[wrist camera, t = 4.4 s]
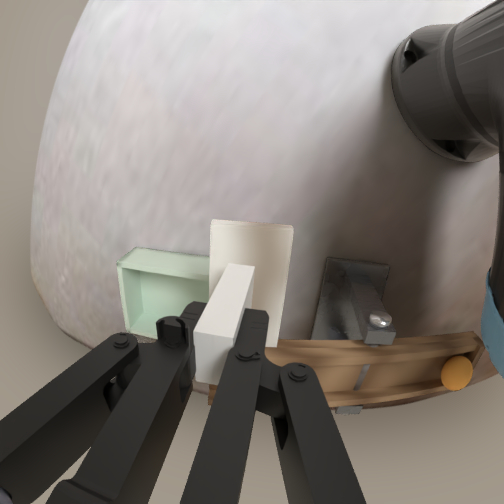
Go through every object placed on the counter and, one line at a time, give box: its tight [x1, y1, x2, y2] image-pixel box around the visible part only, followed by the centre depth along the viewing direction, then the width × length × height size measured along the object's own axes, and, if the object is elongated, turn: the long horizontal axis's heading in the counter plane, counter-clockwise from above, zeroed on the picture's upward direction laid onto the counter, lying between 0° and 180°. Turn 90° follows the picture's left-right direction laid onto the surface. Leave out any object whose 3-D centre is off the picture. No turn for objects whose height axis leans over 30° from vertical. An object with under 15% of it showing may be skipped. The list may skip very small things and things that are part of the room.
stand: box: [310, 257, 396, 415], centre depth 27 cm, size 7×12×11 cm, turn 176°
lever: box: [208, 220, 485, 407], centre depth 20 cm, size 26×15×3 cm, turn 85°
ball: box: [441, 356, 473, 390], centre depth 21 cm, size 4×4×4 cm
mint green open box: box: [116, 247, 210, 339], centre depth 32 cm, size 11×9×4 cm
